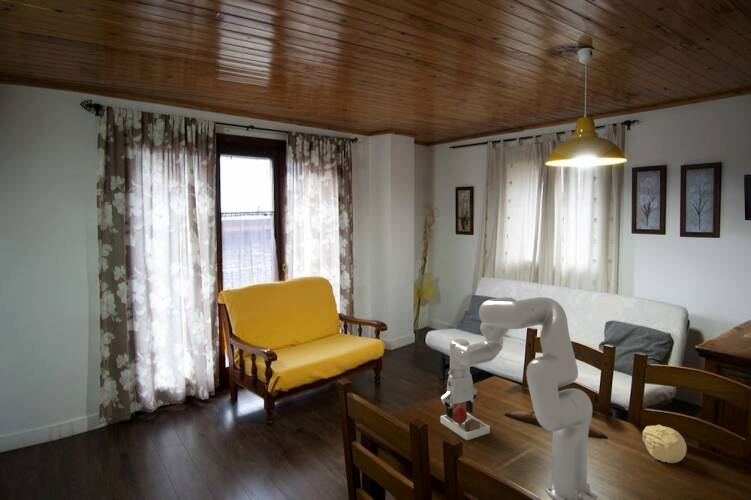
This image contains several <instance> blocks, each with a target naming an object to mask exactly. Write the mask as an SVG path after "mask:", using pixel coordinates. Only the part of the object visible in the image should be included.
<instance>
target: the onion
mask: <svg viewBox="0 0 751 500" xmlns="http://www.w3.org/2000/svg"><path fill="white" fill-rule="evenodd" d="M467 413H468V411H467V410H466V408H464V407H462V405H461V404H458V405H457V406H456V407H455V408H453V420H454V421H455V422H456V423H458V424H462V423H464V422H465V421H466V419H467Z"/></svg>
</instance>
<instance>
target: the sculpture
mask: <svg viewBox="0 0 751 500" xmlns="http://www.w3.org/2000/svg"><path fill="white" fill-rule="evenodd" d="M642 442H643V443H644V445H645V447H646V450H647V452H648V453H649V455H650V456H651V457H653V458H654V459H655V460H657V461H659V460H660V461H659V462H662V463H665V462H667V463H666V464H676V463H679V462H680V461H681V462H682V460H683V459H684V458H685V456H686V454H687V444H686V441H685V438H684V437H683V435H681V433H679V432H678V431H677V430H675V429H673V428H671V427H668V426H663V425H662V424H656V425H647V426H646V427H645V428H644V429H643V430H642Z"/></svg>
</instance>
